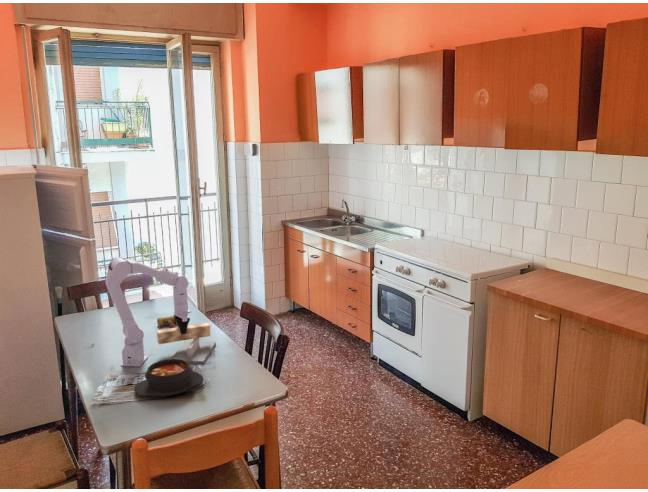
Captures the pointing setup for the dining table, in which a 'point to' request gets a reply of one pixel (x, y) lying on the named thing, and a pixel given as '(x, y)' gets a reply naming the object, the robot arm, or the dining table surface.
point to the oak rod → (176, 335)
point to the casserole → (168, 378)
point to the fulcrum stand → (194, 351)
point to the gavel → (167, 321)
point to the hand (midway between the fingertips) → (182, 332)
